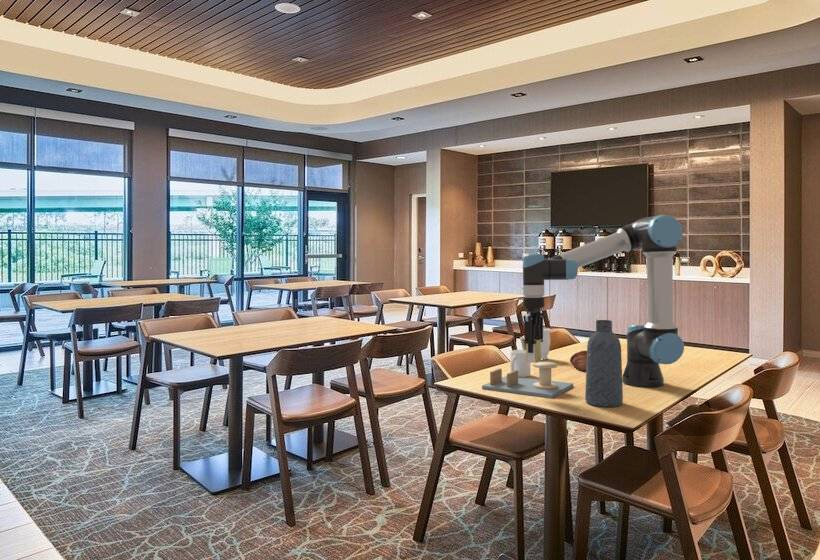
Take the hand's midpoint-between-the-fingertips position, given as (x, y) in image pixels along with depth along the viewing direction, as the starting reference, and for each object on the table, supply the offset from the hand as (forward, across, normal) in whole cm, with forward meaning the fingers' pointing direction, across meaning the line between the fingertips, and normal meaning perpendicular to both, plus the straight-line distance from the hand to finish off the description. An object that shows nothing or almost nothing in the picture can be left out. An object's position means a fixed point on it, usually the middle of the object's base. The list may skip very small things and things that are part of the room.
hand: (534, 360), depth 210 cm
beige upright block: (0, 0, 0) cm, 0 cm away
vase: (+13, -1, +25) cm, 28 cm away
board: (+12, -9, -6) cm, 17 cm away
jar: (+13, -70, -27) cm, 76 cm away
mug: (+13, -27, -19) cm, 35 cm away
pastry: (+13, -60, 0) cm, 62 cm away
